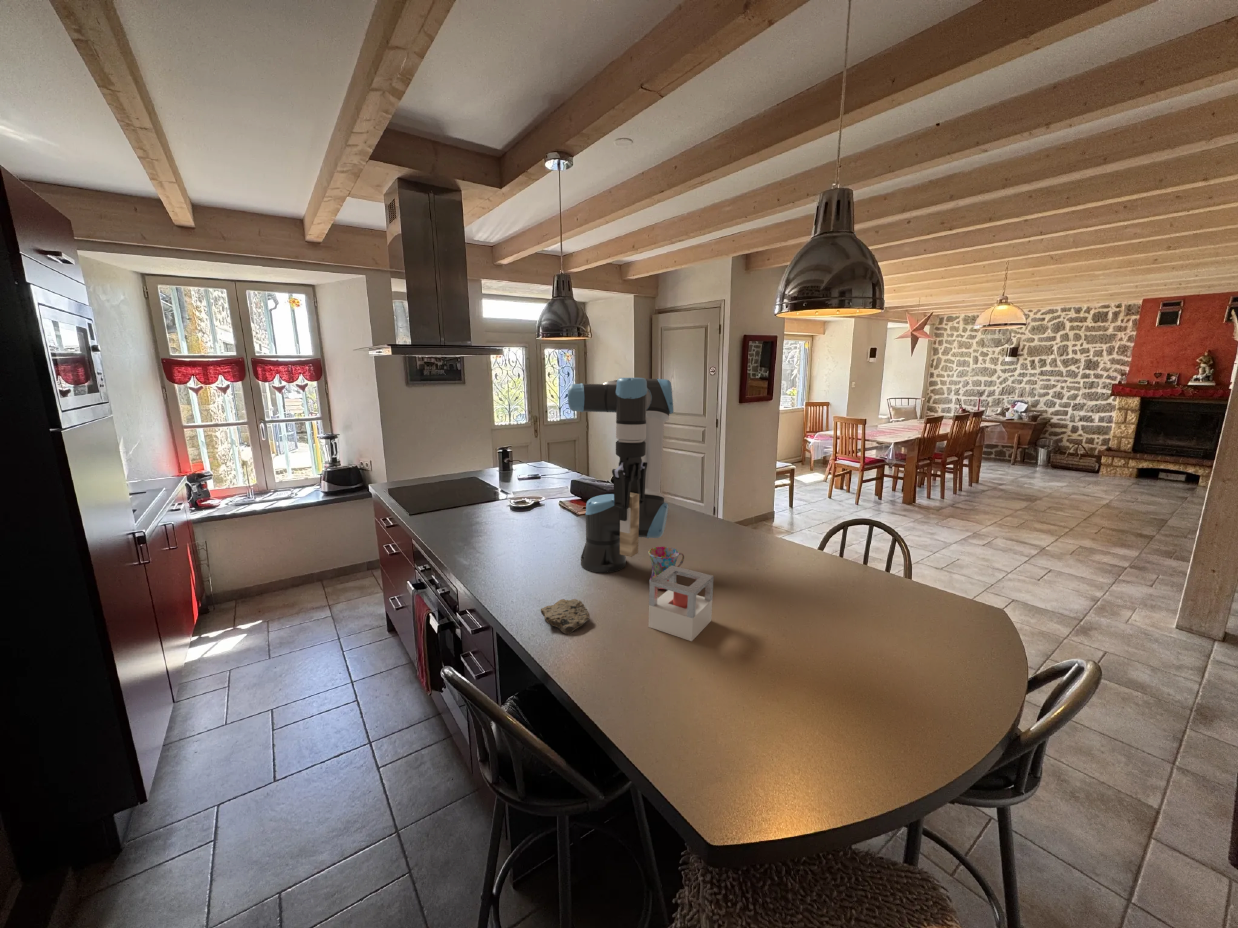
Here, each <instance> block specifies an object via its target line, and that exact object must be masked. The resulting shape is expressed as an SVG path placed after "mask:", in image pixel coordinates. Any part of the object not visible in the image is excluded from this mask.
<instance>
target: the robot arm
mask: <svg viewBox="0 0 1238 928" xmlns="http://www.w3.org/2000/svg"><path fill="white" fill-rule="evenodd" d="M567 404H568V408H569V409H570V410H571V411H572V412H578V413H579V412H580V413H616V414H615V415H616V417H615V419H616V420H615V423H616V424H615V425H616V426H615V439H617V440H616V442H615V455H616V456H617V457H619V460H618V461H619V462H618V467H617V468H612V470H611V474H612V477H613V493H606V494H600V495H596V496H593V497H591V498H590V499H588V500H587V501H586V505H585V512H584V513H585V543H584V544H585V545H584V547H583V550H582V552H581V555H580V566H581V567H582V568H583V569H585V570H586V571H589V572H593V573H603V574H604V573H613V572H618V571H620V570H622V569H624V568H625V567H626V564H627V561H626V560H627V556H625V555H621V554H620V532H624V533H630V520H631V508H629V500H630V492H631V493H637V494H639V535H638V538H643V539H644V538H646V539H651V538H652V539H659V538H661V537H662V536H663V534H664V531H665V528H666V524H667V519H668V514H669V513H668V511H669V504H668V502H666V501H665V496H664V495H663V494H662V493H661V485H662V484H661V482H662V465H663V464H662V463H663V450H664V449H663V448H664V447H663V446H664V433H665V432H664V431H665V422H667V421H668V420H670V415H672V414H674V413H675V411H674V399H673V388H672V382H671V381H670V380H669V379H667V378H644V377H619V378H618V379H615V380H614V379H613V380H609V381H605V382H604V383H573V384H571V385H570V386H569V388H568V392H567Z"/></svg>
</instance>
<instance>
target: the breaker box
mask: <svg viewBox="0 0 1238 928" xmlns="http://www.w3.org/2000/svg"><path fill="white" fill-rule="evenodd" d="M673 596H674V591H670V590H666V591H665V592H664V593H663V594H661V595H660V596H659V597H657V605H656V606H650V605H649V604H648V628H650V629H653V630H656V631H660V632H662V633H666V634H668V635H672V636H675V637H678V638H681V639H682V640H687V641H690V642H693V641H694V640H695V638H697V636H699V634H701V632H702V631H703V630H704V629H705V628H706V627H707V626H708V625H709V624H710V623H711V621H712V615H713V614H712V612H713V599H712V600H711V601H706V600H705V596H702V595H698V594H697V595H696V612H695V617H694V618H689V617H687V608H686V609H685V608H682V607H678V606H675V605H673Z"/></svg>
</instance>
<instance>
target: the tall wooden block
mask: <svg viewBox="0 0 1238 928" xmlns="http://www.w3.org/2000/svg"><path fill="white" fill-rule="evenodd" d="M629 508H631V520H630V533H624V532H620V554H621V555H625V556H626V557H629V558H633V556H635V555H638V554H639V537H638V535H639V494H637V493H631V492H630V500H629Z"/></svg>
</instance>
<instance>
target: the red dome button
mask: <svg viewBox="0 0 1238 928" xmlns="http://www.w3.org/2000/svg"><path fill="white" fill-rule="evenodd" d="M687 604H688V595H684V594H681V593H677V592H674V596H673V605H675V606H678V607H682V608H685V609H686V608H687Z"/></svg>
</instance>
